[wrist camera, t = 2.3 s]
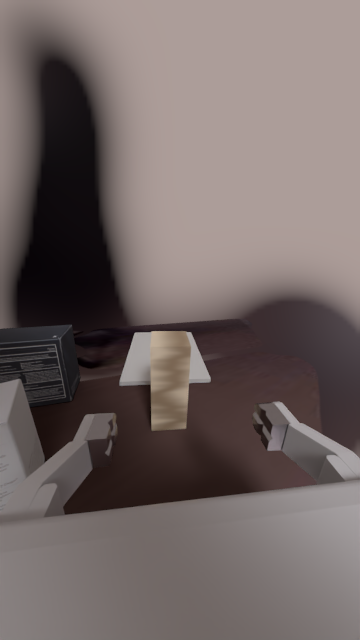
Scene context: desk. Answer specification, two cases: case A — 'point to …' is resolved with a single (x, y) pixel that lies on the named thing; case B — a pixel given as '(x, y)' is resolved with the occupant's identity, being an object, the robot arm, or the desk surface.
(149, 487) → the desk surface
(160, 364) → the maple block
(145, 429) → the desk surface
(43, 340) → the small box
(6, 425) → the small box
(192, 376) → the rubber mat
